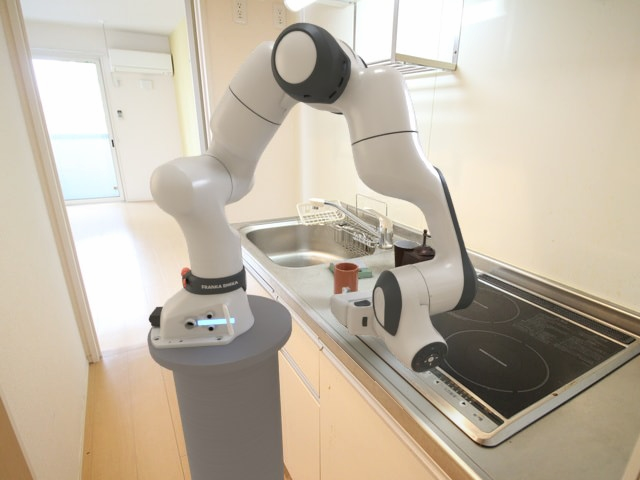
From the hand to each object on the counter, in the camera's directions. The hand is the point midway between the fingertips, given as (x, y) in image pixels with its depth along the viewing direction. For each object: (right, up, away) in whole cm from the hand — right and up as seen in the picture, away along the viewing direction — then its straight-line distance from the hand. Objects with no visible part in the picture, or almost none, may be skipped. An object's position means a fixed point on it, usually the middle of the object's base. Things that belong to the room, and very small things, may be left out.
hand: (363, 287), depth 86 cm
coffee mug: (+16, +3, +37) cm, 41 cm away
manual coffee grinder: (+22, +1, +34) cm, 40 cm away
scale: (-3, +3, +36) cm, 36 cm away
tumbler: (-4, -5, +14) cm, 16 cm away
